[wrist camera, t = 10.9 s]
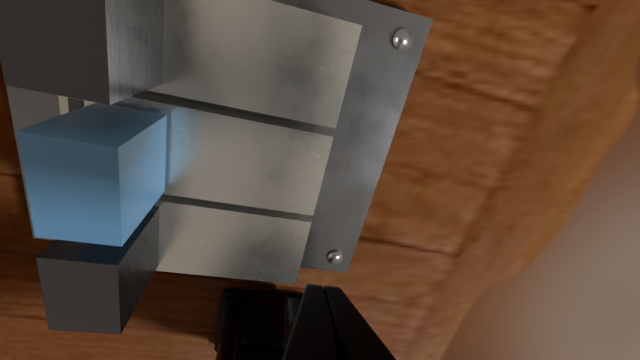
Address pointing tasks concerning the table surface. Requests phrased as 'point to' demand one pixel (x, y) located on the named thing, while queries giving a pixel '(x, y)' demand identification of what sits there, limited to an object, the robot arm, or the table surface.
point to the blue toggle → (93, 172)
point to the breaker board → (218, 131)
